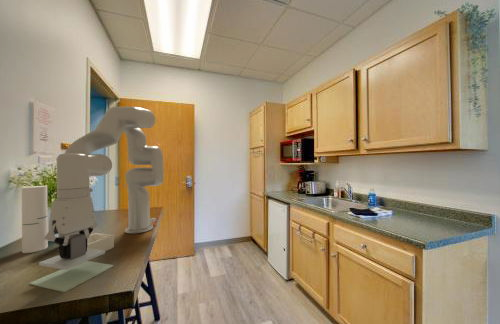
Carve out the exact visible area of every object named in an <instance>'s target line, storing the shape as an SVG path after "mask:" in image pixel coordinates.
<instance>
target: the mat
mask: <svg viewBox="0 0 500 324" xmlns="http://www.w3.org/2000/svg"><path fill="white" fill-rule="evenodd" d="M113 267H115V265H114V264H110V263H109V264H108V263H102V262H96V261H90V260H88V261H86V262H84V263H82V264H79V265H77V266H75V267H72V268H70V269H68V270H63V269H59V270H56V271H54V272H52V273H49V274H47V275H45V276H42V277H40V278H38V279H36V280H33V281H30V282H29V285H30V286H34V287H39V288H43V289H49V290H54V291H58V292H62V293H66V292H68V291H70V290H72V289H74V288H76V287H78V286H79V285H82V284H83V283H85V282H87V281H89V280H91V279H93V278H95V277H97V276H98V275H100V274H102V273H104V272H105V271H107V270H110V269H111V268H113Z"/></svg>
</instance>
